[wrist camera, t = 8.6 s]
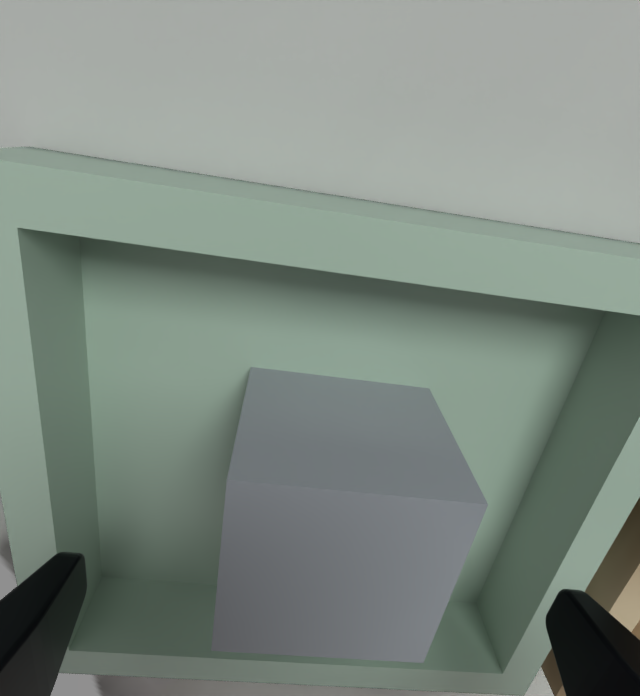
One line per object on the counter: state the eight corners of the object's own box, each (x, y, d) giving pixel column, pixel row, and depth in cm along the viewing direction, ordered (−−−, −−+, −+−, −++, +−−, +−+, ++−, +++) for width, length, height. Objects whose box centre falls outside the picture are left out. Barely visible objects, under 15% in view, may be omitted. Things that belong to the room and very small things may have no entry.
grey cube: (390, 519, 13) (423, 663, 10) (236, 506, 13) (210, 651, 9) (429, 388, 12) (487, 504, 8) (250, 366, 11) (226, 479, 7)
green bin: (492, 615, 16) (523, 696, 14) (74, 587, 14) (32, 671, 12) (666, 247, 10) (767, 278, 8) (28, 146, 9) (-61, 150, 7)
